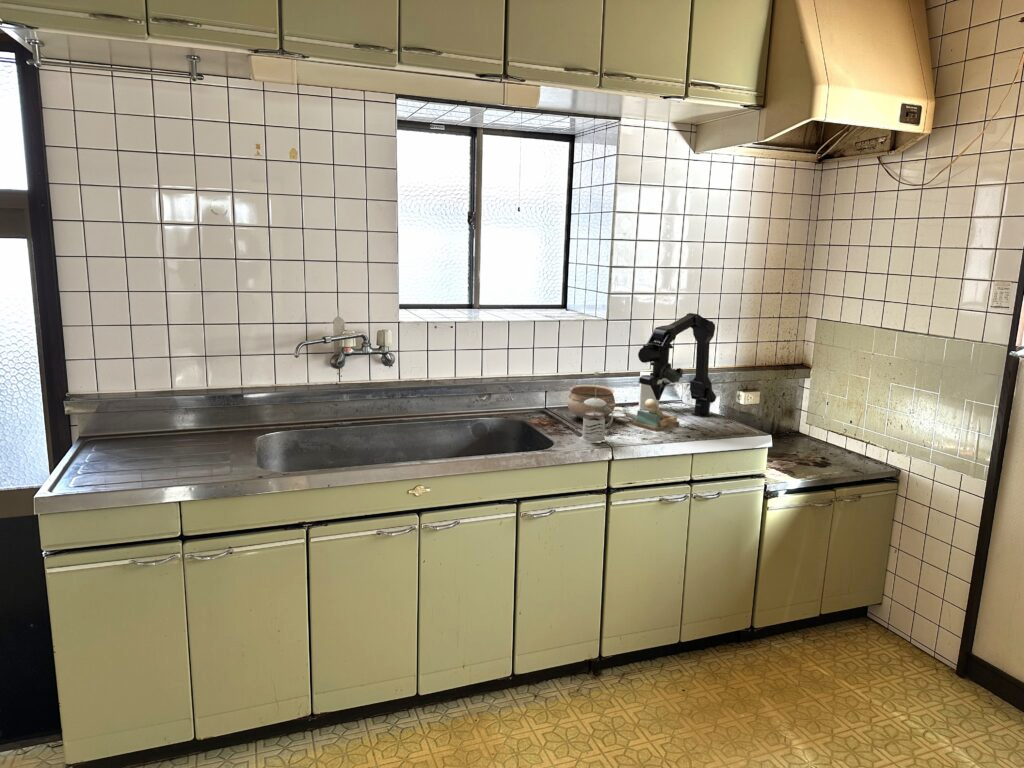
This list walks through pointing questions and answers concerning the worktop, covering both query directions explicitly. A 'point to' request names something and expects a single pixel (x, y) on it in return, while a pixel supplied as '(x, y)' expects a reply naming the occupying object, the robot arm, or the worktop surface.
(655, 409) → the peg
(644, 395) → the skincare box
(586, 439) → the french press
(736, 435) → the worktop surface
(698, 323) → the robot arm
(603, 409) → the cooking pot
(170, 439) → the worktop surface
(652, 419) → the cradle
